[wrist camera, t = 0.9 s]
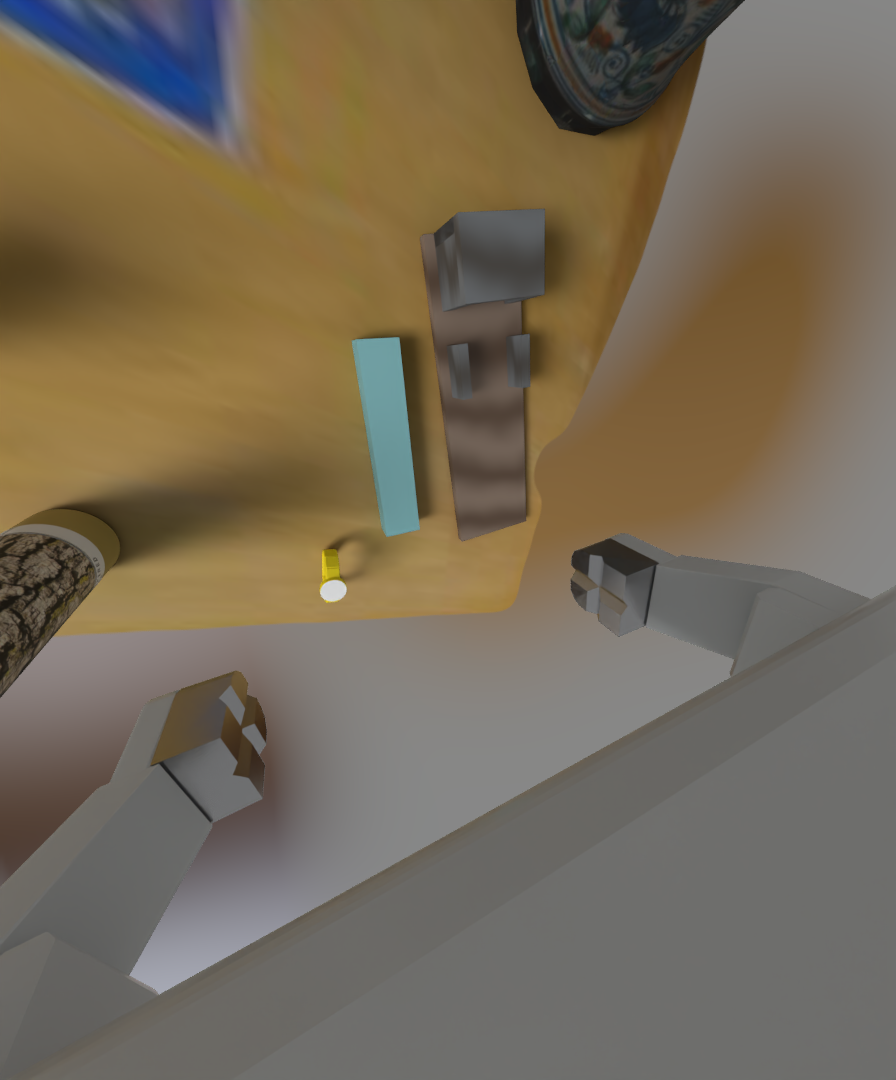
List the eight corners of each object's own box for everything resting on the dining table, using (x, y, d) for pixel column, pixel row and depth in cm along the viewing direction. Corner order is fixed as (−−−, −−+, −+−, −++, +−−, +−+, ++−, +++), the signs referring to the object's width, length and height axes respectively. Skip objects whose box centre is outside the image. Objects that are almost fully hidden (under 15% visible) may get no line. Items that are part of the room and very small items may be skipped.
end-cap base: (419, 237, 33) (446, 212, 27) (514, 231, 36) (554, 208, 30) (458, 538, 48) (480, 560, 43) (522, 518, 51) (550, 536, 46)
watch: (339, 582, 45) (346, 612, 40) (316, 584, 44) (320, 616, 39) (340, 540, 42) (347, 567, 37) (315, 541, 41) (319, 569, 36)
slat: (351, 340, 35) (356, 339, 32) (391, 339, 36) (399, 337, 33) (381, 526, 44) (386, 536, 41) (412, 520, 45) (419, 529, 43)
